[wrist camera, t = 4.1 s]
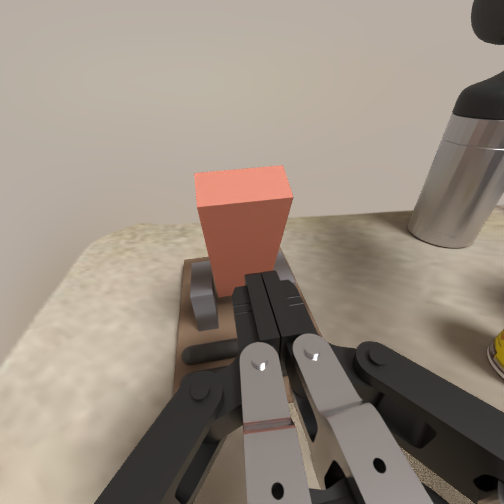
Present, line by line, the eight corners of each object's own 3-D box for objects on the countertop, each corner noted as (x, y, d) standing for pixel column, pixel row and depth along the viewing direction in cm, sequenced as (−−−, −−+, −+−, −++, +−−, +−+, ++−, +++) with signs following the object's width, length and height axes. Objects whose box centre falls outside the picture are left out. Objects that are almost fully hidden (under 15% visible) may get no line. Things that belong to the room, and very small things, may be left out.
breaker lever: (266, 293, 26) (293, 197, 13) (219, 300, 25) (197, 207, 12) (262, 273, 27) (282, 165, 14) (217, 279, 26) (194, 173, 13)
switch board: (340, 392, 21) (357, 349, 17) (175, 426, 20) (153, 387, 16) (280, 255, 37) (281, 217, 33) (186, 268, 35) (176, 229, 32)
